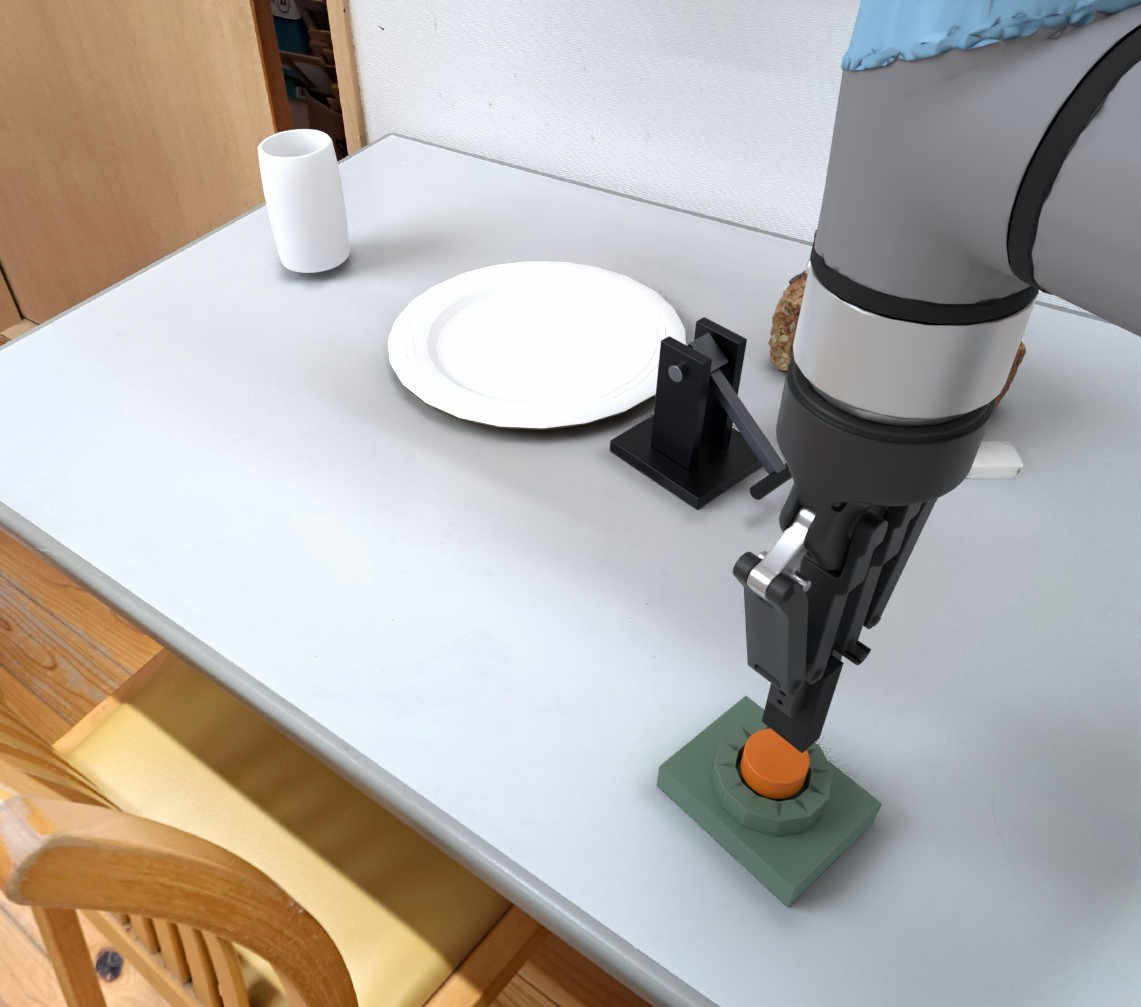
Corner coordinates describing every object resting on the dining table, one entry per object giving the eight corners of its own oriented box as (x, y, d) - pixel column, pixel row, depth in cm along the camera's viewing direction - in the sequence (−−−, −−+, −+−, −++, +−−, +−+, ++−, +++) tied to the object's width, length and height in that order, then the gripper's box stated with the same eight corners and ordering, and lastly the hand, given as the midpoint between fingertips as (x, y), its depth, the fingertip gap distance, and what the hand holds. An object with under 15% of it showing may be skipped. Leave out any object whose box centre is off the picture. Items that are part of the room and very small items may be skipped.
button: (817, 774, 55) (823, 758, 54) (777, 811, 54) (782, 795, 53) (767, 734, 57) (772, 717, 56) (727, 768, 56) (731, 752, 55)
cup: (268, 262, 111) (241, 141, 101) (332, 240, 114) (313, 120, 104) (299, 292, 106) (274, 167, 96) (366, 268, 109) (349, 145, 99)
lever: (800, 470, 76) (819, 460, 74) (750, 504, 74) (769, 494, 72) (709, 336, 78) (725, 322, 75) (657, 365, 75) (672, 352, 73)
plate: (745, 340, 94) (748, 324, 93) (546, 489, 80) (546, 472, 78) (527, 248, 110) (527, 233, 109) (329, 358, 96) (326, 342, 94)
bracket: (769, 461, 81) (794, 343, 73) (697, 510, 77) (714, 391, 69) (680, 408, 87) (694, 293, 79) (609, 450, 83) (616, 335, 75)
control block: (873, 822, 57) (890, 787, 54) (787, 908, 53) (800, 874, 51) (741, 714, 63) (750, 677, 60) (656, 785, 59) (661, 749, 57)
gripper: (904, 275, 41) (808, 629, 57) (699, 397, 36) (656, 751, 52) (1078, 344, 37) (921, 708, 53) (874, 496, 31) (768, 851, 47)
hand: (790, 729), depth 52 cm, fingers closed
